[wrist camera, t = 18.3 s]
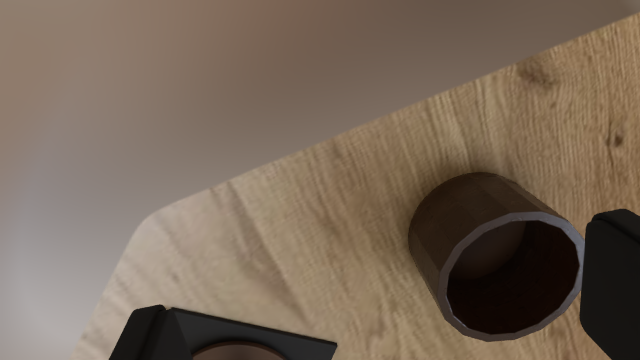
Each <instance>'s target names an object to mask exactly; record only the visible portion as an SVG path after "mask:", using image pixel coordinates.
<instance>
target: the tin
mask: <svg viewBox="0 0 640 360" xmlns="http://www.w3.org/2000/svg"><path fill="white" fill-rule="evenodd" d="M408 242H409V249H410V252H411V255H412V257H413V259H414V262H415V264H416V267H417V268H418V270H419V272H420V274H421V276H422V278H423V280H424V281H425V283H426V285H427V287H428V289H429V291H430V293H431V295H432V296H433V298H434V300H435V302H436V304H437V306H438V308H439V309H440V311H441V313H442V315H443V317H444V319H445V320H446V321H447V322H448V323H450V324H451V325H452V326H453V327H454V328H456V329H457V330H458V331H459V332H460V333H461V334H463V335H465V336H468V337H472V338H475V339H479V340H483V341H486V342H491V341H505V340H515V339H518V338H521V337H523V336H526V335H528V334H531V333H534V332H536V331H539V330H541V329H543V328H544V327H545V326H547V325H548V324H549V323H551V322H552V321H553V320H555V319H556V318H557V317H559V316H560V315H561V314H563V313H564V312H565V311H566V310H567V309H568V307H569V306H570V304H571V303H572V302H573V300H574V299H575V298H576V296H577V295H578V293H579V292H580V291H581V288H582V274H583V261H584V247H585V241H584V238H583V237H582V236H581V235H580V234H579V233H578V232H577V230H576V229H575V228H574V227H573V226H572V225H571V223H570V222H569V221H568V220H566V219H565V218H564V217H562V216H561V215H559V214H558V213H557V212H555V211H554V210H553V209H551V208H550V207H548V206H547V205H546V204H544V203H543V202H542V201H540V200H539V199H537V198H536V197H535V196H533V195H532V194H530V193H529V192H528V191H526V190H525V189H524V188H522V187H521V186H519V185H518V184H517V183H515V182H513V181H511V180H509V179H507V178H505V177H502V176H499V175H496V174H491V173H469V174H465V175H461V176H458V177H455V178H452V179H450V180H448V181H446V182H444V183H443V184H441V185H440V186H438V187H437V188H435V189H434V190H433V191H432V192H430V193H429V194H428V195H427V197H426V198H425V199H424V200H423V201H422V202H421V204H420V205H419V207H418V208H417V210H416V211H415V214H414V216H413V218H412V221H411V224H410V228H409V238H408Z"/></svg>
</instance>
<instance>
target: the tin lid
mask: <svg viewBox="0 0 640 360" xmlns="http://www.w3.org/2000/svg"><path fill="white" fill-rule="evenodd" d="M192 358H193V360H287V359H286V358H285V357H284V356H282V355H281V354H280V353H278V352H277V351H275V350H273V349H271V348H269V347H266V346H264V345H260V344H257V343H252V342H244V341H230V342H222V343H218V344H214V345H211V346H208V347H205V348H203V349H201V350H199V351H197V352H196V353H194V354H192Z"/></svg>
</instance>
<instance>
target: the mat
mask: <svg viewBox="0 0 640 360" xmlns="http://www.w3.org/2000/svg"><path fill="white" fill-rule="evenodd" d="M171 309H172V310H173V311H174V313H175V315H176V317H177V320H178V322H179V325H180V327H181V330H182V332H183V335H184V337H185V340H186V342H187V345H188V347H189V350H190V353H191V355H192V354H194V353H196V352H197V351H199V350H201V349H203V348H205V347H208V346H211V345H214V344H218V343H222V342H230V341H244V342H252V343H257V344H260V345H264V346H266V347H269V348H271V349H273V350H275V351H277V352H278V353H280V354H281V355H282V356H284V357H285V358H286V359H287V360H331V359H332V357H333V355H334V353H335V350H336V348H337V343H334V342H329V341H324V340H320V339H315V338H311V337H306V336H301V335H297V334H292V333H287V332H283V331H278V330H274V329H269V328H264V327H260V326H255V325H250V324H246V323H241V322H236V321H232V320H227V319H223V318H218V317H213V316H209V315H204V314H199V313H195V312H190V311H185V310H181V309H176V308H171Z"/></svg>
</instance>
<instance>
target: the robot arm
mask: <svg viewBox="0 0 640 360" xmlns="http://www.w3.org/2000/svg"><path fill="white" fill-rule="evenodd" d="M580 322H581V325H582V327H583V329H584V330H585V332H586V333H587V334H588V335H589V336H590V337H591V338H592V340H593V341H594V342H595V343H596V344H597V345H598V346H599V347H600V348H601V349H602V350H603V351H604V352H605V353H606V354H607V355H608V356H609V357H610V358H611V359H612V360H640V216H638V215H636V214H635V213H633V212H631V211H629V210H627V209H617V210H613V211H608V212H603V213H598V214H596V215H594V216H593V218H592V221H591V222H589V223H588V224H587V226H586V233H585V247H584V261H583V274H582V288H581V302H580ZM109 360H193V358H192V355H191V353H190V350H189V347H188V345H187V342H186V340H185V337H184V335H183V332H182V330H181V327H180V325H179V322H178V320H177V317H176V315H175V313H174V311H173V310H172V309H169V310H166V308H165V307H164V306H163V305H155V306H150V307H145V308H140V309H136V310H134V311H133V312H132V314H131V315H130V317H129V319H128V322H127V324H126V326H125V328H124V330H123V332H122V334H121V336H120V338H119V340H118V342H117V344H116V346H115V348H114V350H113V352H112V354H111V356H110V358H109Z"/></svg>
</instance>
